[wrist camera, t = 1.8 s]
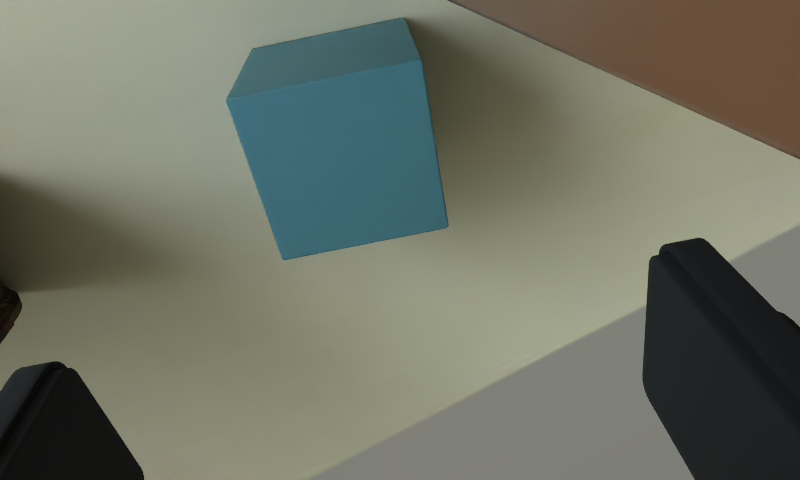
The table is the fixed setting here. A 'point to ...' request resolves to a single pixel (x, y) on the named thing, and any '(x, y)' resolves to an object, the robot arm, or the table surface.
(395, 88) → the block
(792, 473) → the robot arm
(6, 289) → the book
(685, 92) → the lid
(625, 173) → the table surface
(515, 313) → the table surface
